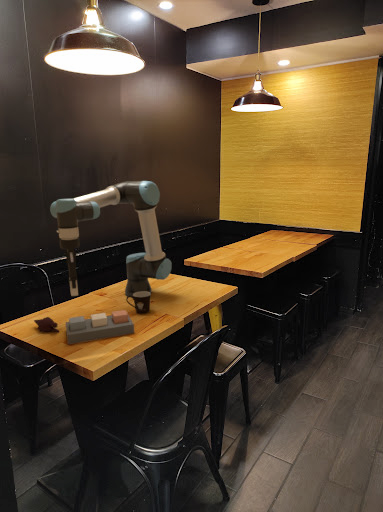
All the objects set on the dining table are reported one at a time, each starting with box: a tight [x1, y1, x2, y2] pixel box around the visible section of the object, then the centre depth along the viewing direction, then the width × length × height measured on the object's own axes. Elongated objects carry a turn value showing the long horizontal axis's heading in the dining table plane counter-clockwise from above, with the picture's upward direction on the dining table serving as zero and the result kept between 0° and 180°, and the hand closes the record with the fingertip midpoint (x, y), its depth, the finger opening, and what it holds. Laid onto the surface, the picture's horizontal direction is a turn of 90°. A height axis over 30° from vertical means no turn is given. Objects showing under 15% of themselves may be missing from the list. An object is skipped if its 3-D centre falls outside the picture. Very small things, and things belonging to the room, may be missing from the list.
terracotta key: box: [111, 309, 129, 324], centre depth 161 cm, size 6×6×4 cm
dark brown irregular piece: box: [33, 316, 60, 334], centre depth 162 cm, size 7×7×15 cm
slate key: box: [68, 315, 86, 331], centre depth 155 cm, size 6×6×4 cm
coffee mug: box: [125, 291, 152, 315], centre depth 182 cm, size 12×9×10 cm
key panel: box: [65, 314, 135, 345], centre depth 159 cm, size 27×14×5 cm, turn 111°
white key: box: [90, 312, 107, 327], centre depth 158 cm, size 6×6×4 cm
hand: (74, 293), depth 152 cm, fingers open, 3 cm apart
